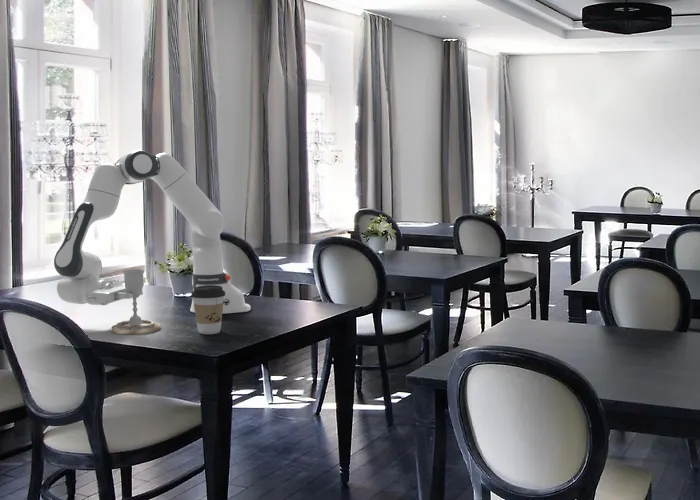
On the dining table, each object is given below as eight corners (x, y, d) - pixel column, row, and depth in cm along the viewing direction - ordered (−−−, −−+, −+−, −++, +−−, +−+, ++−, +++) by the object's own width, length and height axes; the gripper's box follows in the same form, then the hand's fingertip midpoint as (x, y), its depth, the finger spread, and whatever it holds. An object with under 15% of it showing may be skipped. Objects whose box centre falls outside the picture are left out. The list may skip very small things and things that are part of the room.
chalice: (148, 321, 290) (146, 269, 288) (144, 325, 284) (142, 272, 281) (126, 321, 290) (124, 269, 288) (122, 325, 283) (120, 272, 281)
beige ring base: (160, 323, 297) (160, 317, 296) (160, 333, 281) (160, 326, 281) (113, 326, 293) (112, 319, 293) (110, 336, 278) (109, 329, 277)
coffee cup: (201, 337, 275) (200, 291, 273) (186, 331, 284) (184, 287, 282) (232, 332, 281) (231, 287, 279) (216, 326, 290) (215, 283, 289)
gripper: (82, 288, 279) (119, 290, 275) (117, 278, 299) (152, 280, 294) (83, 306, 280) (119, 309, 276) (118, 296, 299) (152, 298, 295)
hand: (136, 294), depth 285 cm, fingers closed on chalice, 5 cm apart
